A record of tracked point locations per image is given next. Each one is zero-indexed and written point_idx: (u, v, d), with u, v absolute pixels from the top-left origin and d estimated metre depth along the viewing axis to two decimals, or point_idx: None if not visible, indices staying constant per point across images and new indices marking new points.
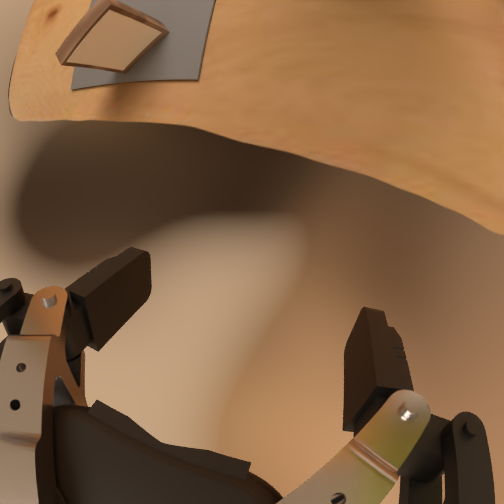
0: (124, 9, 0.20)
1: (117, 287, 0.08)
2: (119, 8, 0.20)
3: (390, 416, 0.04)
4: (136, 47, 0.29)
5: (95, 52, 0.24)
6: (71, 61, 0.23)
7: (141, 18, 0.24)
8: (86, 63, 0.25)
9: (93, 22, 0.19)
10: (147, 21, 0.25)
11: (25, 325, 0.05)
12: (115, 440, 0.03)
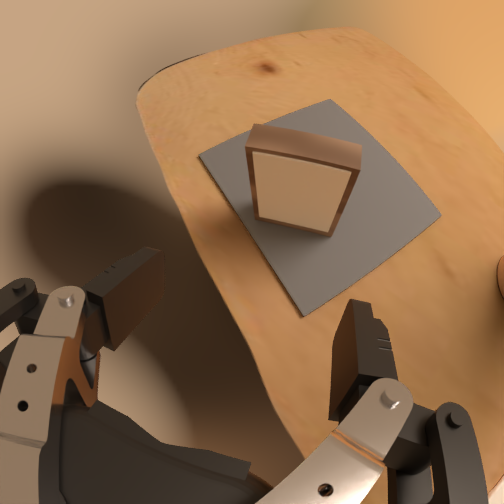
0: None
1: (133, 287, 0.09)
2: (354, 181, 0.23)
3: (371, 403, 0.05)
4: (298, 218, 0.32)
5: (277, 180, 0.26)
6: (254, 157, 0.24)
7: (343, 207, 0.27)
8: (256, 176, 0.26)
9: (326, 161, 0.22)
10: (340, 214, 0.29)
11: (43, 326, 0.05)
12: (115, 440, 0.03)
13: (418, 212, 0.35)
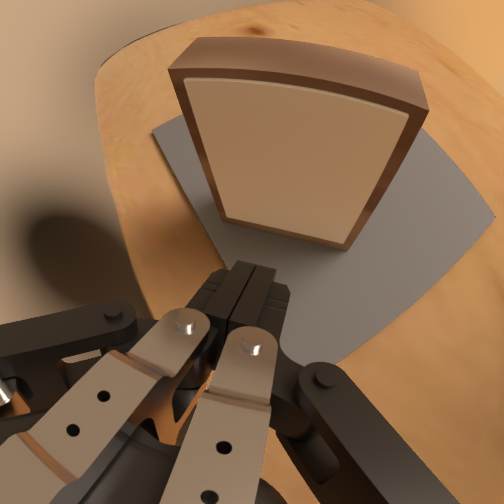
0: None
1: None
2: (411, 140, 0.09)
3: (226, 343, 0.06)
4: (292, 219, 0.18)
5: (244, 143, 0.12)
6: (191, 92, 0.10)
7: (377, 200, 0.14)
8: (204, 137, 0.13)
9: (350, 85, 0.08)
10: (369, 213, 0.15)
11: (174, 361, 0.05)
12: None
13: (469, 212, 0.21)
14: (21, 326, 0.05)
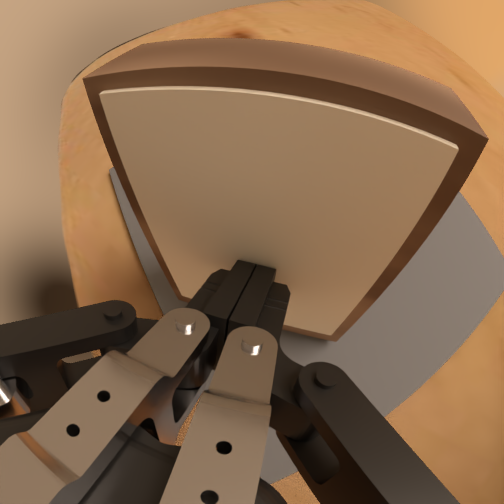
0: None
1: None
2: (453, 192, 0.05)
3: (226, 343, 0.06)
4: None
5: (189, 197, 0.08)
6: (113, 114, 0.06)
7: (384, 284, 0.09)
8: (135, 187, 0.09)
9: (364, 87, 0.04)
10: (370, 301, 0.11)
11: (174, 361, 0.05)
12: None
13: (484, 275, 0.17)
14: (20, 326, 0.05)
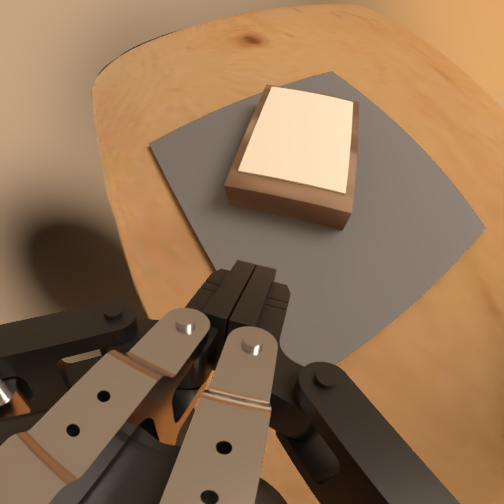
0: None
1: None
2: (358, 112, 0.24)
3: (226, 343, 0.06)
4: (301, 164, 0.21)
5: (286, 108, 0.24)
6: (271, 92, 0.25)
7: (356, 144, 0.22)
8: (265, 106, 0.24)
9: None
10: (355, 155, 0.22)
11: (173, 361, 0.05)
12: None
13: (458, 224, 0.22)
14: (21, 326, 0.05)
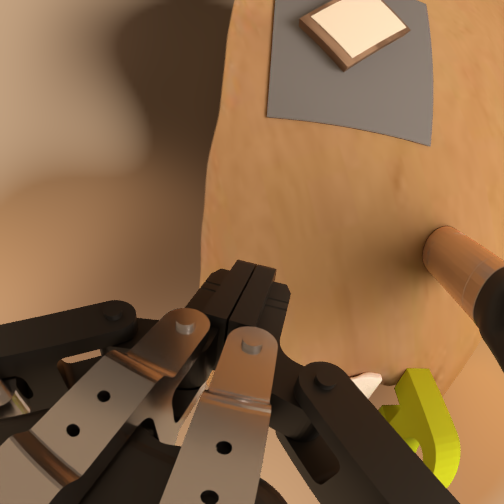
0: (398, 36, 0.27)
1: None
2: (403, 33, 0.26)
3: (226, 343, 0.06)
4: (343, 33, 0.28)
5: (362, 4, 0.25)
6: None
7: (382, 44, 0.28)
8: None
9: (397, 15, 0.25)
10: (376, 48, 0.28)
11: (174, 362, 0.05)
12: None
13: (412, 125, 0.34)
14: (21, 326, 0.05)
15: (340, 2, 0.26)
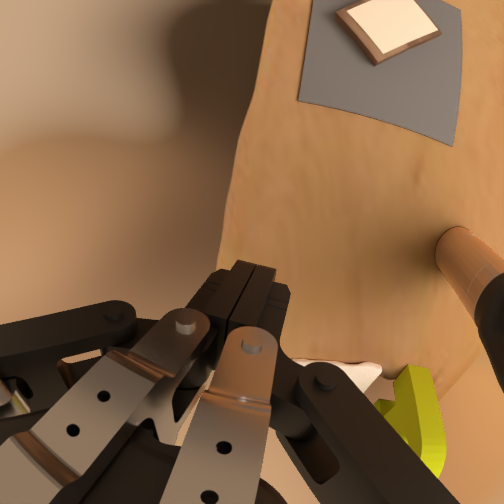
0: (430, 38, 0.25)
1: None
2: (434, 35, 0.24)
3: (226, 343, 0.06)
4: (376, 29, 0.27)
5: (396, 4, 0.23)
6: None
7: (413, 44, 0.26)
8: None
9: (430, 18, 0.23)
10: (406, 47, 0.27)
11: (174, 361, 0.05)
12: None
13: (436, 124, 0.33)
14: (21, 326, 0.05)
15: (375, 0, 0.24)
